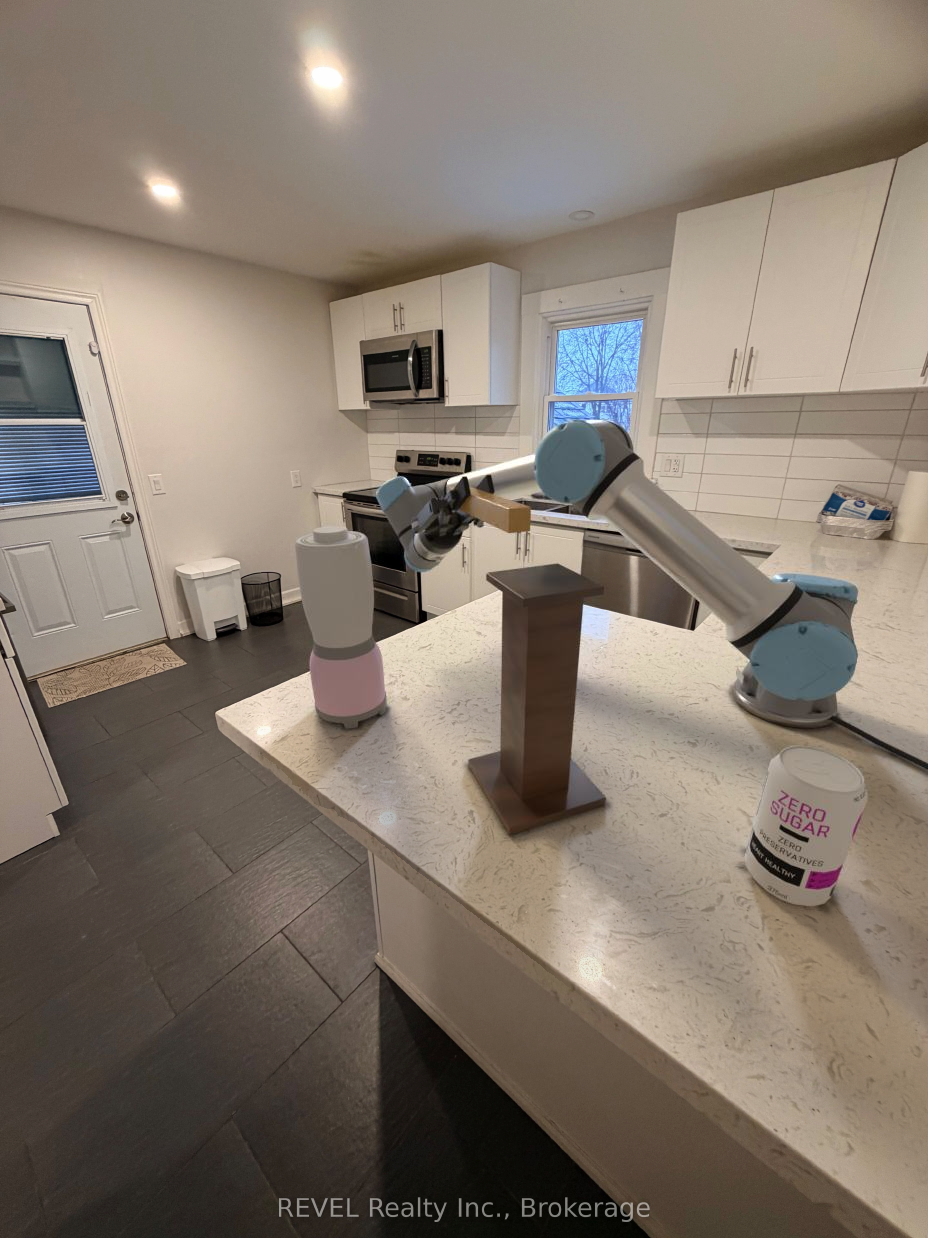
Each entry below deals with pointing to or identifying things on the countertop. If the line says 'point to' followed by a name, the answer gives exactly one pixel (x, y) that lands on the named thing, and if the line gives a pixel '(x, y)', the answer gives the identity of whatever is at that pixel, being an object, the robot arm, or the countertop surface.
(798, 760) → the supplement can
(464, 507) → the golden brown bar
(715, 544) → the robot arm
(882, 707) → the countertop surface
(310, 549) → the blender
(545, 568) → the brown pedestal stand
